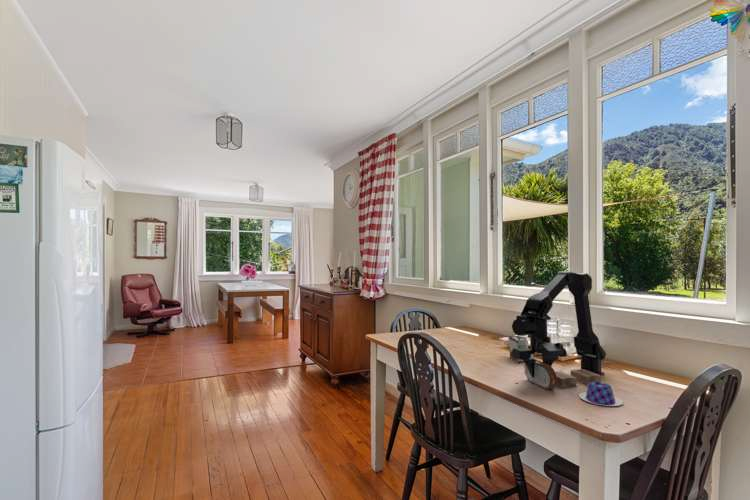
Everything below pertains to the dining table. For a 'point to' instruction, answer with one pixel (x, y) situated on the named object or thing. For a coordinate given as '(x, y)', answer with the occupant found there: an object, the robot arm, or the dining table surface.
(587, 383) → the slotted rail
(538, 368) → the tin
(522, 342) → the food container
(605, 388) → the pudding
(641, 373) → the dining table surface
